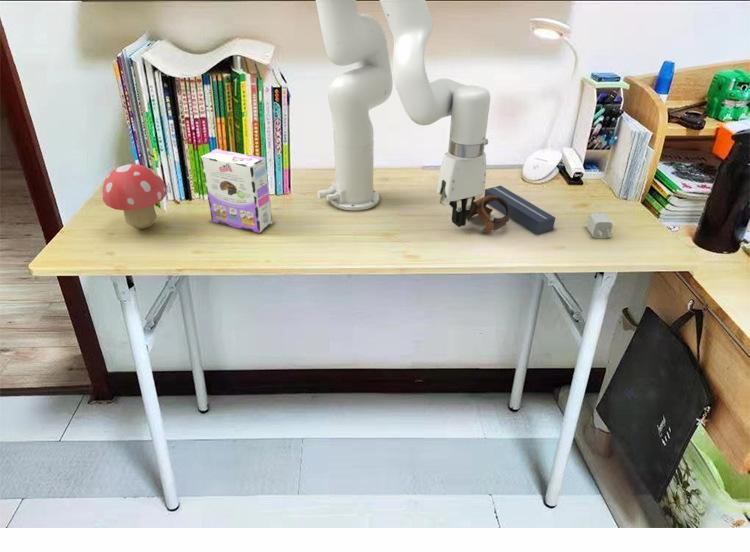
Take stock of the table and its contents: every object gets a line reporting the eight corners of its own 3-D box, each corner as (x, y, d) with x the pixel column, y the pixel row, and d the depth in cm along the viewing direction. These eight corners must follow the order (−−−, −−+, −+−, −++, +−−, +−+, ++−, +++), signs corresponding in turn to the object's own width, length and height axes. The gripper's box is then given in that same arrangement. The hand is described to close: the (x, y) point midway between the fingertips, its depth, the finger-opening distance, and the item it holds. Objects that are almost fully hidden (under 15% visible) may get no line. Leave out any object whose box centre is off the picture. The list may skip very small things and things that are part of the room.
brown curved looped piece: (500, 215, 137) (514, 196, 130) (498, 247, 132) (513, 229, 125) (453, 202, 135) (465, 182, 128) (450, 234, 131) (462, 215, 124)
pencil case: (536, 234, 128) (539, 221, 126) (483, 200, 143) (485, 188, 141) (553, 229, 130) (555, 217, 128) (499, 196, 145) (500, 184, 143)
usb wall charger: (603, 228, 131) (607, 213, 129) (613, 243, 125) (617, 227, 123) (586, 228, 131) (589, 213, 129) (595, 243, 125) (599, 227, 123)
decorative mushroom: (119, 216, 134) (103, 156, 125) (177, 212, 135) (165, 153, 127) (106, 244, 123) (87, 180, 114) (169, 239, 124) (155, 177, 116)
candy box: (273, 223, 131) (267, 157, 122) (259, 234, 127) (251, 166, 118) (226, 211, 136) (216, 146, 127) (210, 221, 132) (199, 155, 123)
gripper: (484, 136, 124) (475, 210, 134) (427, 147, 118) (422, 223, 128) (505, 147, 118) (494, 224, 129) (446, 159, 113) (439, 238, 123)
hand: (458, 223), depth 128 cm, fingers closed
